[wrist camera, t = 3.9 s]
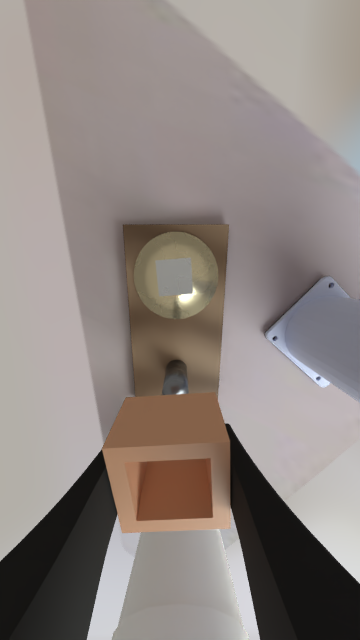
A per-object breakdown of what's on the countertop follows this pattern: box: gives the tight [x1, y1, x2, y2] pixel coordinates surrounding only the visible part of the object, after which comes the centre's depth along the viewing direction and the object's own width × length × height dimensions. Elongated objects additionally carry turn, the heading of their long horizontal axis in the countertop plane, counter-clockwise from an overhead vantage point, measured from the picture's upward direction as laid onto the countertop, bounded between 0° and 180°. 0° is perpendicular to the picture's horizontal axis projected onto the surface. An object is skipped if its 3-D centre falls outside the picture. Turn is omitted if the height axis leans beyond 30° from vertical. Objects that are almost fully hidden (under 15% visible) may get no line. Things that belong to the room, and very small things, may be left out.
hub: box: [134, 232, 218, 319], centre depth 13 cm, size 8×8×4 cm
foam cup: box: [112, 529, 249, 640], centre depth 16 cm, size 10×9×13 cm
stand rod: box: [162, 360, 189, 395], centre depth 15 cm, size 2×2×4 cm
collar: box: [102, 392, 231, 533], centre depth 9 cm, size 5×5×3 cm
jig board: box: [123, 225, 229, 400], centre depth 17 cm, size 18×9×1 cm, turn 0°
